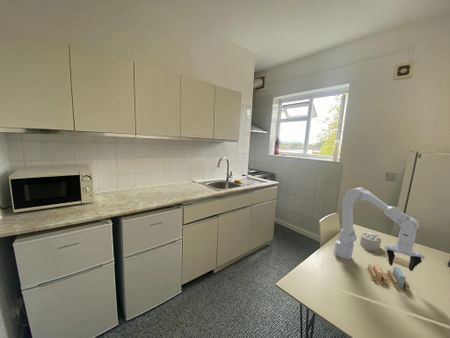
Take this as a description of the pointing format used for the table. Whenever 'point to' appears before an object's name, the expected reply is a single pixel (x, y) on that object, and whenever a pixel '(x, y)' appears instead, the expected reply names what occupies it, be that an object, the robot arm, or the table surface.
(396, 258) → the clay tablet
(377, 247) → the lumpy-topped squat cylinder
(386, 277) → the rack
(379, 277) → the wooden block
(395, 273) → the pale blue block
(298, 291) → the table surface
